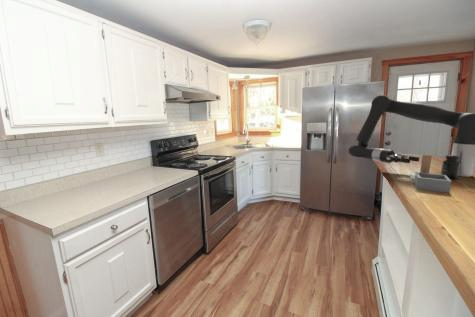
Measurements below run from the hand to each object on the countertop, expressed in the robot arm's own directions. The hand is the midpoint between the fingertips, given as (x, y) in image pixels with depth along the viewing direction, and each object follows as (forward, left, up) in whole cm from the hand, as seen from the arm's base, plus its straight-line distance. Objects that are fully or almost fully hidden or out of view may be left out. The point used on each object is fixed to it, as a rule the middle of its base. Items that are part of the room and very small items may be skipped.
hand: (414, 160), depth 119 cm
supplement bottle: (-18, +2, -10) cm, 21 cm away
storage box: (+6, +18, -9) cm, 21 cm away
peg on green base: (-2, +5, -10) cm, 11 cm away
